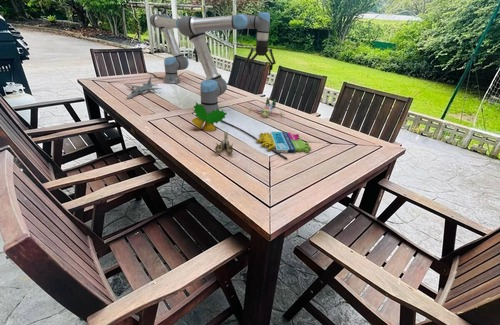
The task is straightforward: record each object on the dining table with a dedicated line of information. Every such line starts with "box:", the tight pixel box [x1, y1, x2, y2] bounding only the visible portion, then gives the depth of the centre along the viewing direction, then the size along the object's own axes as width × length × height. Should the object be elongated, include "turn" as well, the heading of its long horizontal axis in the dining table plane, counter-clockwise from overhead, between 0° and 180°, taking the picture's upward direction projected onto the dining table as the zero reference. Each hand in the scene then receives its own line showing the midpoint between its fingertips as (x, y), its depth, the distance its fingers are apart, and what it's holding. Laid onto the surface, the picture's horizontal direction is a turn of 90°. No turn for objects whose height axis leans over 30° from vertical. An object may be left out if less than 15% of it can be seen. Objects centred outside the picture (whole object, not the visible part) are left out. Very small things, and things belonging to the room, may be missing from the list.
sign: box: [256, 131, 312, 154], centre depth 152 cm, size 26×2×30 cm
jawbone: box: [214, 131, 234, 156], centre depth 136 cm, size 9×15×10 cm
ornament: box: [191, 102, 228, 132], centre depth 162 cm, size 21×8×15 cm, turn 105°
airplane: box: [126, 75, 162, 99], centre depth 223 cm, size 38×31×10 cm
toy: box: [247, 97, 285, 118], centre depth 199 cm, size 28×7×30 cm
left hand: (202, 61), depth 252 cm, fingers open, 13 cm apart
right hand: (259, 74), depth 177 cm, fingers open, 13 cm apart
